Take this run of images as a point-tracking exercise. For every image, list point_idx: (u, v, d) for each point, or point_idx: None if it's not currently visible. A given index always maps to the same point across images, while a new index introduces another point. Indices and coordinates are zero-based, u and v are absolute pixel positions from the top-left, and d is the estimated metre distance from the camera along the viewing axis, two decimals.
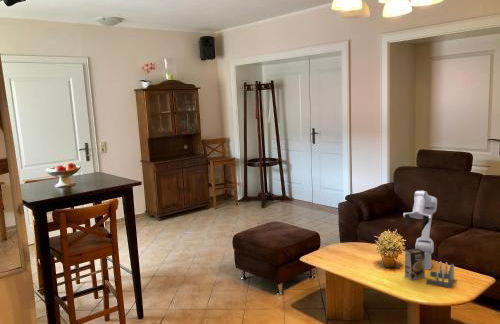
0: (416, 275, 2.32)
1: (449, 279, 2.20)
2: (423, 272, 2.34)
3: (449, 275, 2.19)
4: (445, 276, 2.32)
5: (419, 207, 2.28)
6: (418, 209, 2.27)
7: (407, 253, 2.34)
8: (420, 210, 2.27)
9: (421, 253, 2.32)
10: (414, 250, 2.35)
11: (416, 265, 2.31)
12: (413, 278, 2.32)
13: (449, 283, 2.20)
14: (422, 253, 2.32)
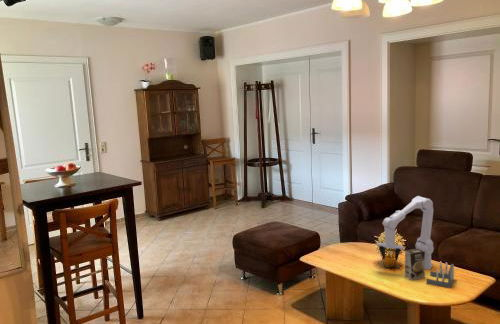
0: (416, 275, 2.32)
1: (449, 279, 2.20)
2: (423, 272, 2.34)
3: (449, 275, 2.19)
4: (445, 276, 2.32)
5: (389, 241, 2.38)
6: (389, 243, 2.39)
7: (407, 253, 2.34)
8: (391, 243, 2.38)
9: (421, 253, 2.32)
10: (414, 250, 2.35)
11: (416, 265, 2.32)
12: (413, 278, 2.32)
13: (449, 283, 2.20)
14: (422, 253, 2.32)
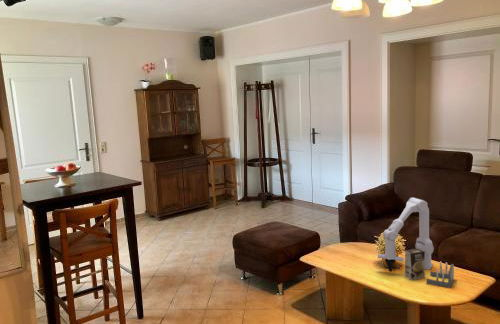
0: (416, 275, 2.32)
1: (449, 279, 2.20)
2: (423, 272, 2.34)
3: (449, 275, 2.19)
4: (445, 276, 2.32)
5: (390, 252, 2.39)
6: (390, 254, 2.39)
7: (407, 253, 2.34)
8: (392, 255, 2.39)
9: (421, 253, 2.32)
10: (414, 250, 2.35)
11: (416, 265, 2.31)
12: (413, 278, 2.32)
13: (449, 283, 2.20)
14: (422, 253, 2.32)
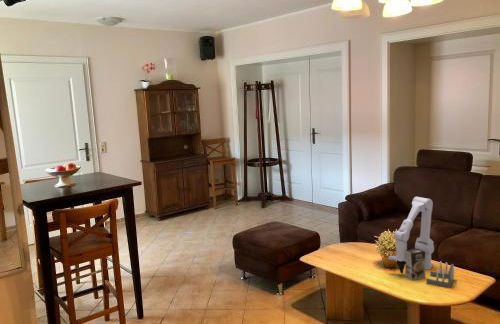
0: (416, 275, 2.32)
1: (449, 279, 2.20)
2: (424, 272, 2.34)
3: (449, 275, 2.19)
4: (445, 276, 2.32)
5: (401, 254, 2.36)
6: (401, 256, 2.36)
7: (408, 253, 2.33)
8: (403, 256, 2.36)
9: (422, 253, 2.32)
10: (415, 250, 2.35)
11: (416, 265, 2.31)
12: (414, 278, 2.32)
13: (449, 283, 2.20)
14: (423, 253, 2.32)
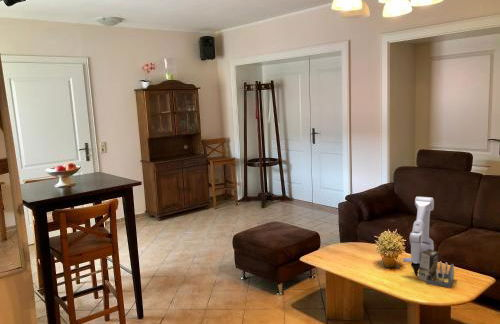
0: (431, 277, 2.30)
1: (449, 279, 2.20)
2: (435, 272, 2.32)
3: (449, 275, 2.19)
4: (445, 276, 2.32)
5: (416, 256, 2.31)
6: (416, 258, 2.31)
7: (425, 255, 2.28)
8: (418, 259, 2.31)
9: (437, 254, 2.29)
10: (429, 251, 2.30)
11: (433, 267, 2.28)
12: None
13: (449, 283, 2.20)
14: (438, 254, 2.29)
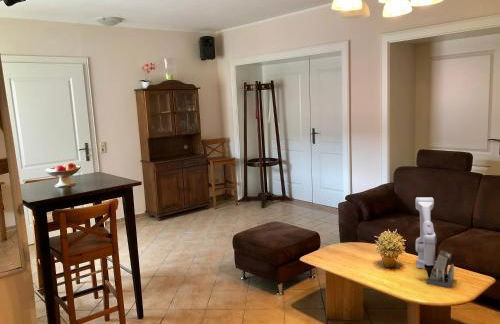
0: None
1: (449, 279, 2.20)
2: None
3: (449, 275, 2.19)
4: (445, 276, 2.32)
5: (430, 258, 2.27)
6: (429, 260, 2.27)
7: (442, 258, 2.23)
8: (432, 261, 2.27)
9: (451, 256, 2.26)
10: (444, 253, 2.26)
11: (446, 268, 2.25)
12: None
13: (449, 283, 2.20)
14: (451, 256, 2.27)
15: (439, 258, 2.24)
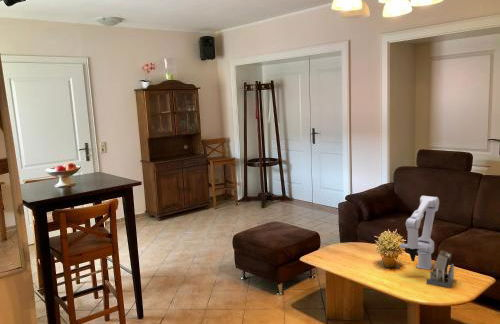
0: None
1: (449, 279, 2.20)
2: None
3: (449, 275, 2.19)
4: (445, 276, 2.32)
5: (413, 241, 2.34)
6: (413, 244, 2.34)
7: (442, 257, 2.23)
8: (415, 244, 2.34)
9: (451, 256, 2.26)
10: (444, 253, 2.26)
11: (446, 268, 2.25)
12: None
13: (449, 283, 2.20)
14: (451, 256, 2.27)
15: (439, 258, 2.24)
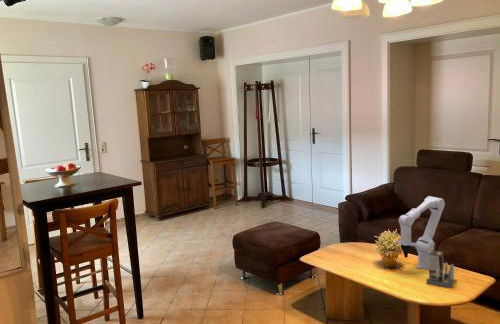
0: (441, 278, 2.27)
1: (449, 279, 2.20)
2: None
3: (449, 275, 2.19)
4: (445, 276, 2.32)
5: (406, 238, 2.38)
6: (406, 240, 2.39)
7: (433, 257, 2.25)
8: (408, 241, 2.39)
9: None
10: (435, 252, 2.29)
11: (442, 267, 2.26)
12: None
13: (449, 283, 2.20)
14: None
15: (431, 258, 2.26)
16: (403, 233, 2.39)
